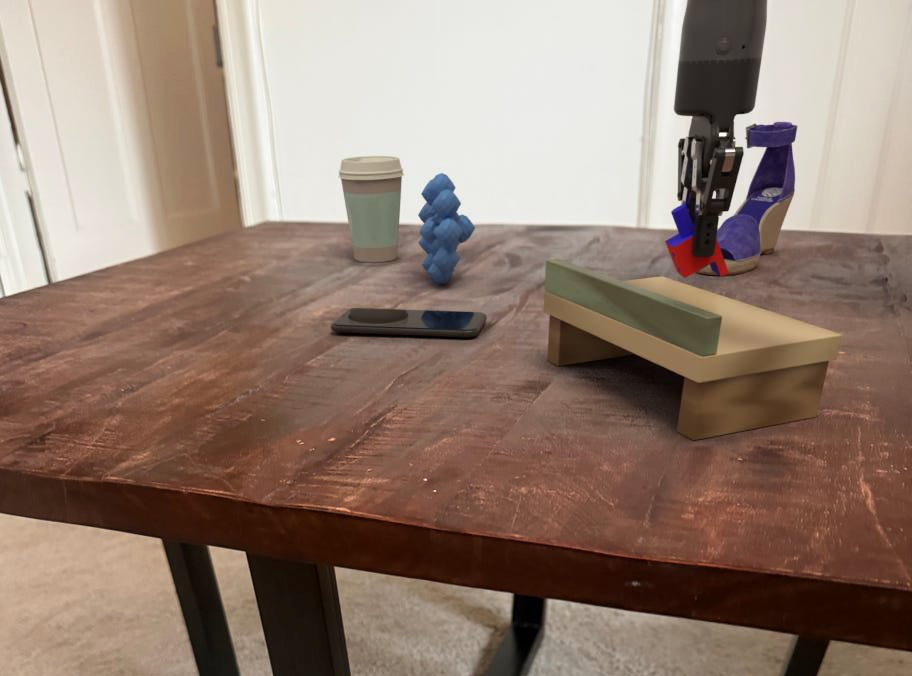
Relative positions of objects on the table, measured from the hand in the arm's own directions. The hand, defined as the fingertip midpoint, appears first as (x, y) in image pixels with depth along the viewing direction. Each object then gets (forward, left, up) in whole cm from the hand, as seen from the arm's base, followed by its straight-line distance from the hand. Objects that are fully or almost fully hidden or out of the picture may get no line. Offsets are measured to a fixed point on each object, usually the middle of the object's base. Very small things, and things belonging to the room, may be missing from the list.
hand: (696, 251), depth 91 cm
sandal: (-13, -21, -5) cm, 25 cm away
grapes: (+25, -14, -5) cm, 30 cm away
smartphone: (+30, +6, -5) cm, 31 cm away
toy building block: (0, 0, -2) cm, 2 cm away
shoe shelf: (+9, +27, -5) cm, 29 cm away
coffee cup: (+34, -31, -5) cm, 47 cm away
